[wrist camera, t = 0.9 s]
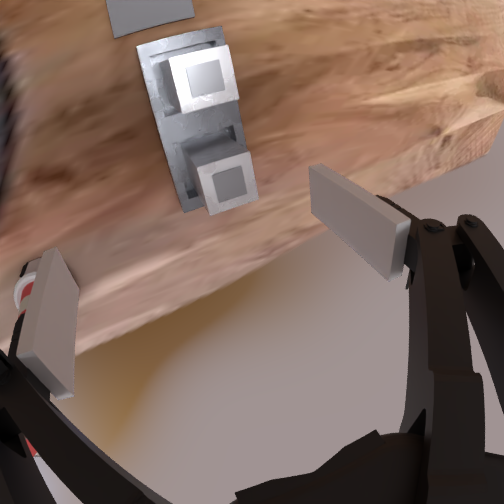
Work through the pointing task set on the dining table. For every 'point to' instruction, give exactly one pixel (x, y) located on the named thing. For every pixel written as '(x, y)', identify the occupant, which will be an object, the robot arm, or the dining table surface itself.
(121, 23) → the mat
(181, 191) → the rail
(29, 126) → the dining table surface
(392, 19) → the dining table surface
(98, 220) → the dining table surface
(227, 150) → the silver square post
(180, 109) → the grey square peg
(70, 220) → the dining table surface
